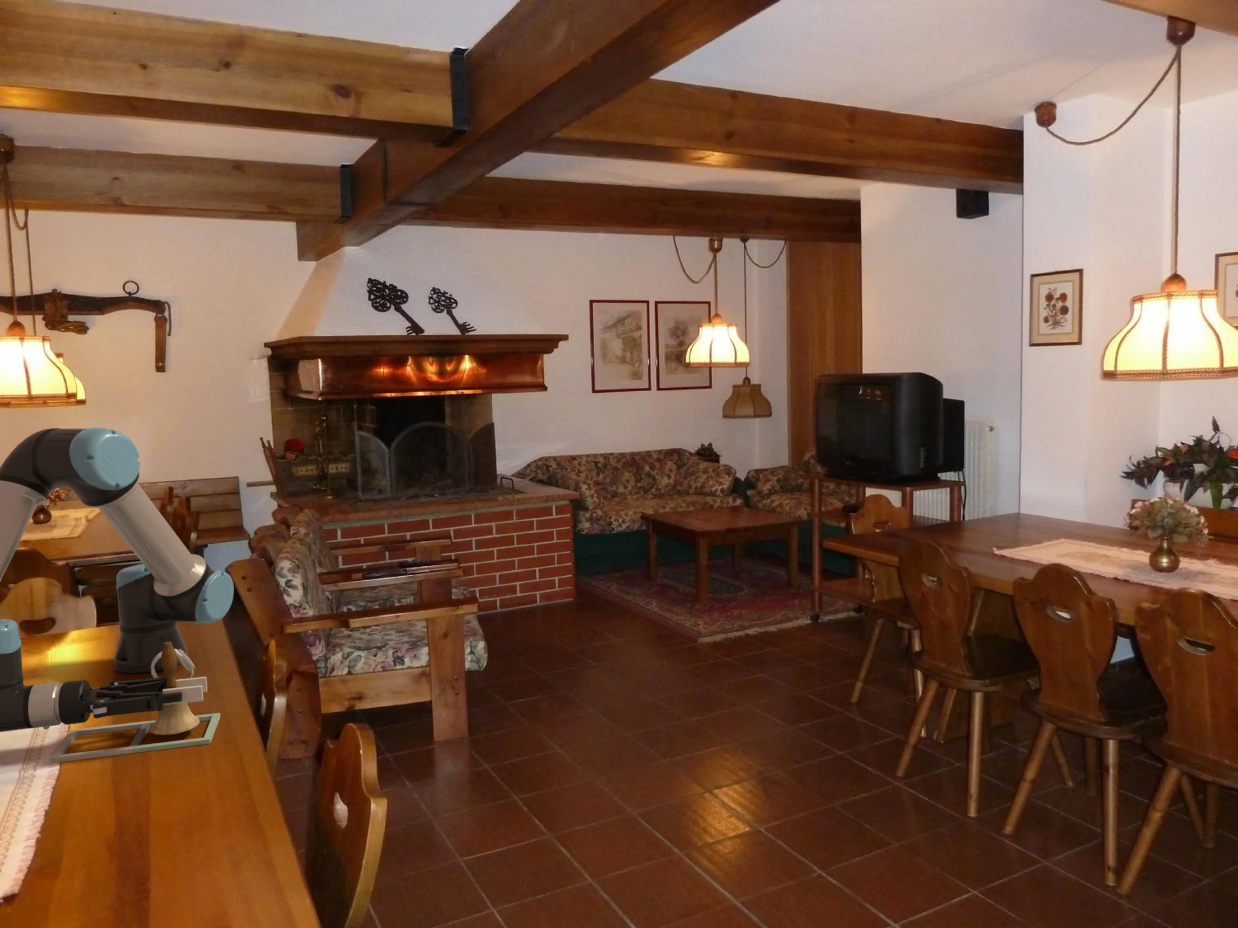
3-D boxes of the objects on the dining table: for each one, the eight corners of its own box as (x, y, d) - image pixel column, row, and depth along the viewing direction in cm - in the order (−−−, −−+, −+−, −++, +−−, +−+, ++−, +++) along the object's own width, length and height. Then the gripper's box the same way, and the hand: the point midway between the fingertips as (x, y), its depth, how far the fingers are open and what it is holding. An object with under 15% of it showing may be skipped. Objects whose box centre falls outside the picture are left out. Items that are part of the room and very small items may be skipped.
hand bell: (180, 736, 167) (174, 649, 165) (139, 733, 168) (133, 647, 167) (209, 719, 175) (203, 636, 173) (170, 716, 176) (164, 634, 175)
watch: (198, 702, 188) (195, 649, 187) (154, 711, 184) (150, 657, 182) (195, 694, 193) (191, 643, 191) (152, 702, 188) (148, 649, 187)
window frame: (72, 733, 173) (71, 729, 173) (220, 716, 180) (220, 712, 180) (49, 763, 160) (49, 758, 160) (210, 743, 167) (210, 739, 167)
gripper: (78, 706, 175) (212, 692, 181) (49, 742, 158) (198, 725, 164) (74, 668, 174) (209, 655, 180) (45, 699, 157) (195, 683, 164)
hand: (204, 688), depth 172 cm, fingers closed on hand bell, 4 cm apart
